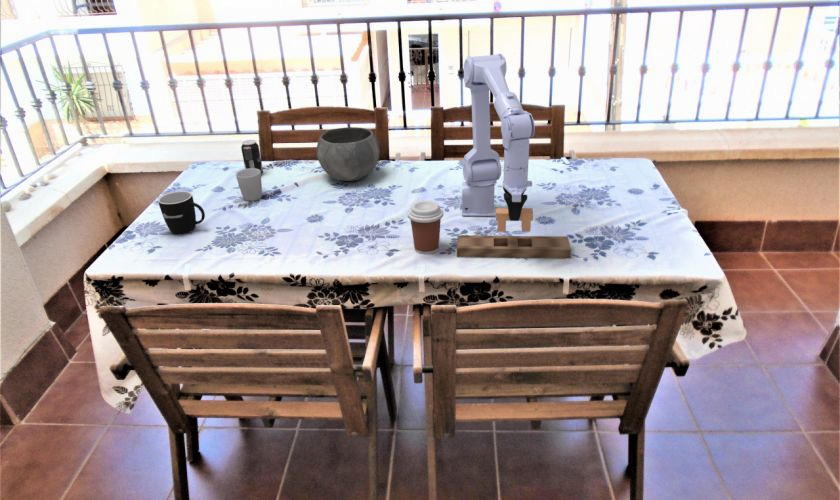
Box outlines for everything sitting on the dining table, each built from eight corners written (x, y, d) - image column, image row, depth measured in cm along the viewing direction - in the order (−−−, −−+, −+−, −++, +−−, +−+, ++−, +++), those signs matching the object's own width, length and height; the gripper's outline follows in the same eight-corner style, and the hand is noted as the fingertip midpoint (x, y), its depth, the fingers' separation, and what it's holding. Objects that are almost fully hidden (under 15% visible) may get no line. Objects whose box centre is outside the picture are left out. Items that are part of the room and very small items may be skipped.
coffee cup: (441, 257, 151) (440, 214, 145) (406, 255, 152) (403, 213, 146) (446, 240, 158) (445, 199, 153) (412, 239, 160) (410, 198, 154)
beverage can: (258, 171, 210) (252, 138, 204) (266, 175, 206) (260, 141, 200) (243, 175, 207) (237, 142, 201) (251, 179, 203) (245, 145, 197)
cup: (236, 202, 186) (231, 177, 182) (248, 190, 195) (243, 165, 191) (260, 202, 185) (255, 177, 181) (270, 190, 194) (266, 165, 190)
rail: (456, 256, 151) (456, 248, 149) (457, 243, 157) (457, 235, 155) (570, 258, 148) (570, 249, 146) (566, 245, 154) (567, 236, 153)
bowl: (307, 182, 199) (301, 138, 192) (347, 162, 214) (343, 121, 207) (353, 194, 189) (349, 148, 181) (393, 173, 203) (390, 130, 196)
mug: (160, 236, 167) (151, 203, 162) (176, 222, 175) (168, 190, 170) (200, 237, 166) (192, 204, 161) (215, 223, 173) (207, 191, 169)
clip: (495, 231, 149) (495, 213, 146) (495, 226, 151) (495, 208, 149) (532, 231, 148) (533, 213, 145) (531, 226, 150) (532, 208, 148)
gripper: (535, 176, 135) (532, 230, 141) (531, 154, 147) (528, 205, 154) (503, 176, 135) (502, 230, 142) (502, 154, 148) (500, 204, 154)
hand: (514, 217), depth 148 cm, fingers closed on clip, 3 cm apart
